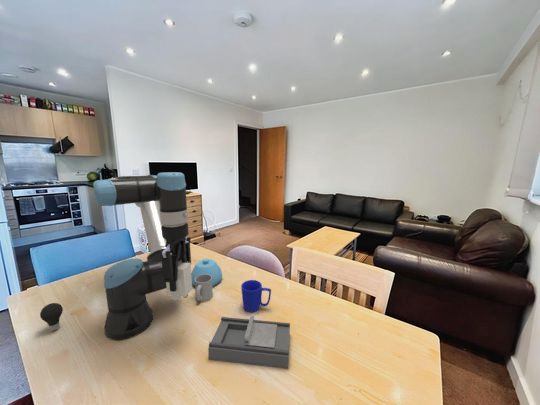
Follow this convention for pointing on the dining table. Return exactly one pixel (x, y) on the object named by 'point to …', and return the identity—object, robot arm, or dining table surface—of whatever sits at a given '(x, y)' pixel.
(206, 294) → the cup
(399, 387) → the dining table surface
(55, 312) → the light bulb
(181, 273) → the plug
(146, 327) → the robot arm
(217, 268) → the sugar bowl
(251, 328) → the plate
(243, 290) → the mug
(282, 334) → the sliding lid box
